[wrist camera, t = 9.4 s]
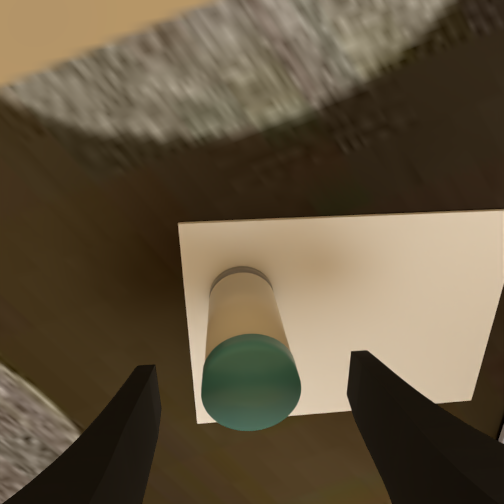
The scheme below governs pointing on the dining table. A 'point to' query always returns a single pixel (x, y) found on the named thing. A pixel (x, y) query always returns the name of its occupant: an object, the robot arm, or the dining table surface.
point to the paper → (361, 294)
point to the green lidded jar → (247, 354)
